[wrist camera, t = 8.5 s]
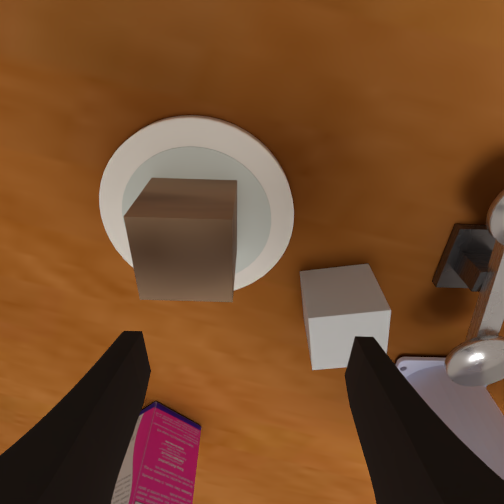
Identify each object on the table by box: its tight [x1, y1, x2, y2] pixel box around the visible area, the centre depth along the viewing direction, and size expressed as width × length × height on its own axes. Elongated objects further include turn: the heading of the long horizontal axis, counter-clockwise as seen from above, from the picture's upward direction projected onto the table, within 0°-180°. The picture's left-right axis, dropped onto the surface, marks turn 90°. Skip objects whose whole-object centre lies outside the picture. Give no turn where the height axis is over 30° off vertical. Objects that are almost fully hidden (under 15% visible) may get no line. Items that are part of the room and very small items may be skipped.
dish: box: [99, 115, 294, 290], centre depth 20 cm, size 11×11×1 cm
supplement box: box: [111, 402, 201, 504], centre depth 28 cm, size 6×6×12 cm
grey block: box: [300, 264, 391, 370], centre depth 22 cm, size 4×4×4 cm
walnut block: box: [123, 178, 237, 302], centre depth 17 cm, size 4×4×4 cm
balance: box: [432, 189, 504, 387], centre depth 19 cm, size 13×4×5 cm, turn 178°
